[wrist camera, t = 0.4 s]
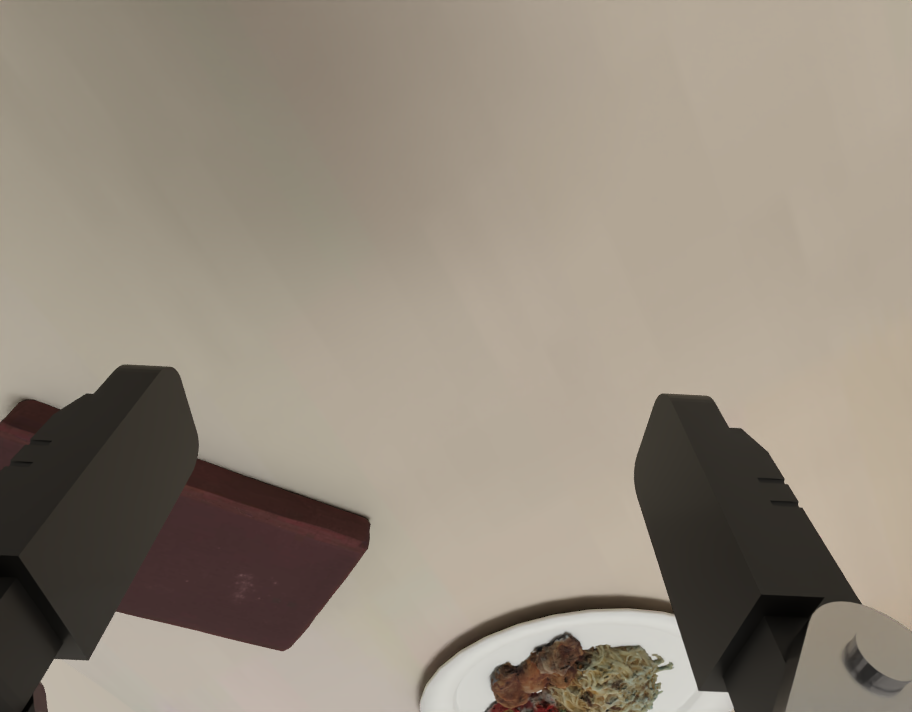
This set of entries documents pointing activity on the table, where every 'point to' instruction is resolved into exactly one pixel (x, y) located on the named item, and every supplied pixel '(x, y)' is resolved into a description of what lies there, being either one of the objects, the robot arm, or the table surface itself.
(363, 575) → the table surface
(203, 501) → the book
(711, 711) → the plated food
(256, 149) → the table surface
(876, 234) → the table surface
